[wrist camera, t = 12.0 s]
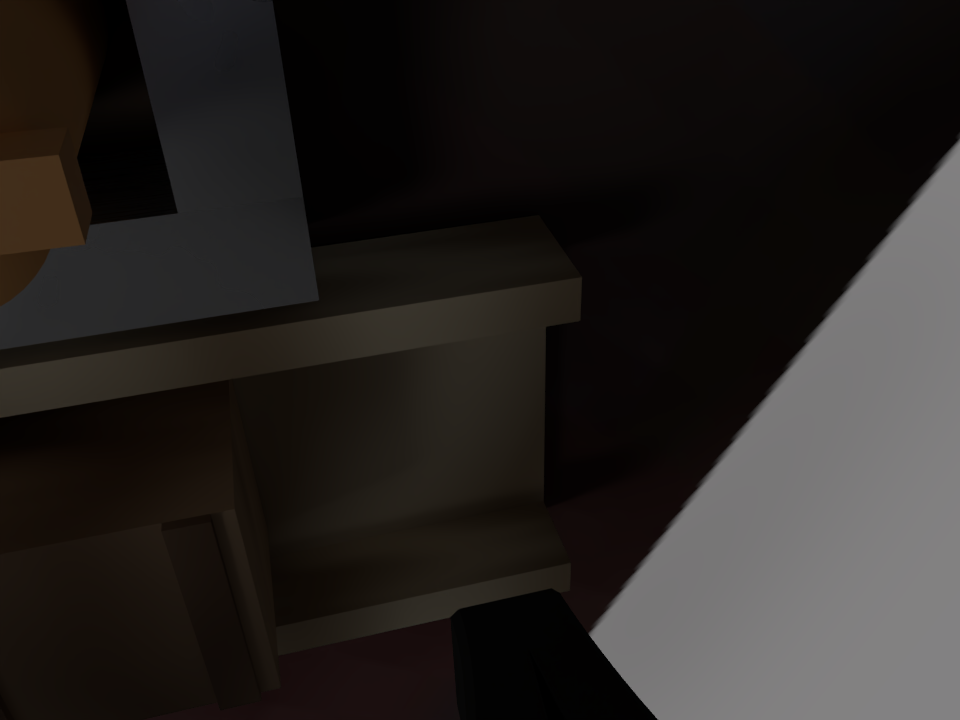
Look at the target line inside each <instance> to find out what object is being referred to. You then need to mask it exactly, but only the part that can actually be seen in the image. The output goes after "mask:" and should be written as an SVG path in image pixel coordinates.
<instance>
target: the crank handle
mask: <svg viewBox="0 0 960 720" xmlns="http://www.w3.org/2000/svg"><path fill="white" fill-rule="evenodd" d="M107 45H108V26H107V20H106V14H105V10H104V7H103V4H102V1H101V0H0V307H1V306H2V305H4V304H5V303H7V302H9V301H10V300H12V299H13V298H14V297H15V296H16V295H18V294H19V293H20V292H21V291H22V290H24V289H25V288H26V286H27V285H28V284H29V283H30V282H31V281H32V280H33V279H34V277H35V276H36V275H37V273H38V272H39V270H40V269H41V267H42V265H43V264H44V262H45V260H46V258H47V256H48V253H49V251H50V249H53V248H62V247H70V246H78V245H85V244H86V239H87V235H88V230H89V226H90V221H91V217H92V209H91V205H90V202H89V198H88V195H87V191H86V188H85V184H84V181H83V177H82V174H81V170H80V167H79V164H78V160H77V156H78V152H79V149H80V145H81V142H82V138H83V135H84V131H85V128H86V124H87V121H88V117H89V114H90V110H91V107H92V103H93V100H94V96H95V93H96V89H97V86H98V82H99V79H100V75H101V72H102V68H103V65H104V61H105V57H106V53H107Z"/></svg>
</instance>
